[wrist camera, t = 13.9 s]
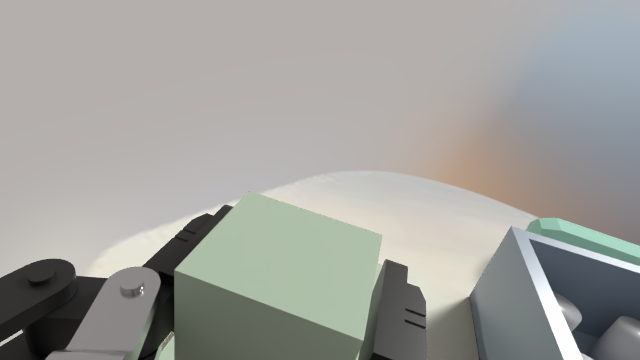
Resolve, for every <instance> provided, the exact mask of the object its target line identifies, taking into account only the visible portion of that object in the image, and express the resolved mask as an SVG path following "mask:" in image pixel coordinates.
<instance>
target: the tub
mask: <svg viewBox="0 0 640 360" xmlns="http://www.w3.org/2000/svg"><path fill="white" fill-rule="evenodd" d="M470 302H471V308H472V315H473V321H474V328H475V334H476V340H477V347H478V353H479V359H480V360H640V266H637V265H634V264H631V263H628V262H625V261H621V260H618V259H615V258H612V257H609V256H605V255H602V254H599V253H596V252H592V251H589V250H586V249H583V248H580V247H576V246H573V245H570V244H567V243H564V242H560V241H557V240H554V239H551V238H548V237H544V236H541V235H538V234H535V233H531V232H528V231H525V230H522V229H519V228H515V227H512V226H511V227H510V229H509V231H508V232H507V234H506V236H505V237H504V239H503V241H502V242H501V244H500V246H499V247H498V249H497V251H496V252H495V254H494V256H493V257H492V259H491V261H490V262H489V264H488V266H487V267H486V269H485V271H484V272H483V274H482V276H481V277H480V279H479V281H478V282H477V284H476V286H475V287H474V289H473V291H472V292H471V294H470Z"/></svg>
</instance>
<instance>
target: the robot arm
mask: <svg viewBox="0 0 640 360" xmlns="http://www.w3.org/2000/svg"><path fill="white" fill-rule="evenodd" d="M232 208H233V207H232V206H229V205H224V206H223V207H222V208H221V209H220V210H219V211H218V212H217V213H216V214H215V215H214V216H213V215H210V214H207V213H206V214H204V215H202V216H199V217H197V218H195V219H193V220H192V221H191V222H189V223H188V224H187V225H186V226H185V227H184V228H183V230H181V231H180V232H179V233H178V234H177V235H175V237H174V238H172V239H171V240H170V241H169V242H168V243H167V244H166V245H165V246H164V247H162V248H161V249H160V250H159V251H158V252H157V253H156V254H155V255H154V256H153V257H152V258H151V259H149V260H148V261H147V262H146V263H145V264H144V265H143V266H142V267H130V268H126V269H123V270H120V271H118V272H116V273H115V274H113V275H112V276H110V277H109V278H95V277H83V276H76V273H75V268H74V266H73V265H72V264H71V263H70V262H68V261H65V260H62V259H46V260H40V261H37V262H33V263H31V264H29V265H26V266H24V267H22V268H20V269H18V270H16V271H14V272H12V273H10V274H7V275H5V276H3V277H1V278H0V342H1V341H3V340H5V339H7V338H8V337H10V336H12V335H13V334H15V333H17V332H18V331H20V330H22V331H23V333H22V334H20V335H19V336H17V337H15V338H14V339H12V340H10V341H9V342H7V343H5V344H4V345H2V346H1V347H0V360H159V357H160V354H161V350H162V346H163V341H164V339H165V338H166V337H167V336H168V334H169V333H170V332H171V331H172V332H174V270H175V269H176V268H177V267H178V265H179V264H180V263H181V262H182V261H183V260H184V259H185V258H186V257H187V256H188V255H189V254H190V253H191V252H192V251H193V250H194V249H195V247H196V246H197V245H198V244H199V243H200V242H201V241H202V240H203V239H204V238H205V237H206V236H207V235H208V234H209V233H210V232H211V231H212V230H213V228H214V227H215V226H216V225H217V224H218V223H219V222H220V221H221V220H222V219H223V218H224V217H225V216H226V215H227V214H228V213H229V212H230V210H231V209H232ZM407 274H408V267H407V266H405V265H402V264H399V263H396V262H393V261H390V260H387V259H386V260H385V261H384V264H383V266H382V269H381V271H380V274H379V276H378V279H377V281H376V284H375V286H374V289H373V291H372V296H371V302H370V307H369V313H368V319H367V324H366V330H365V336H364V341H363V343H362V346H361V348H360V352H359V357H358V360H426V330H425V328H426V318H425V316H426V301H425V299H424V297H423V294H422V292H421V290H420V288H419V287H417V286H414V285H411V284H408V283H407Z"/></svg>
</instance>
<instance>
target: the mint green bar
mask: <svg viewBox="0 0 640 360" xmlns="http://www.w3.org/2000/svg"><path fill="white" fill-rule="evenodd" d="M526 231H528V232H531V233H535V234H538V235H541V236H544V237H548V238H551V239H554V240H557V241H560V242H564V243H567V244H570V245H573V246H576V247H580V248H583V249H586V250H589V251H592V252H596V253H599V254H602V255H605V256H609V257H612V258H615V259H618V260H621V261H625V262H628V263H631V264H634V265H637V266H640V246H638V245H635V244H632V243H629V242H626V241H623V240H620V239H618V238H614V237H611V236H609V235H606V234H603V233H600V232H597V231H594V230H591V229H588V228H585V227H582V226H579V225H576V224H574V223H571V222H568V221H565V220H562V219H558V218H539V219H537V220H535V221H533V222H531V223H530V224H529V226H528V228H527V229H526Z"/></svg>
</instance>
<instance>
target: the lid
mask: <svg viewBox="0 0 640 360" xmlns="http://www.w3.org/2000/svg"><path fill="white" fill-rule="evenodd" d="M381 240H382V235H381V234H378V233H375V232H372V231H369V230H366V229H363V228H360V227H357V226H353V225H350V224H347V223H344V222H341V221H338V220H335V219H332V218H329V217H326V216H323V215H320V214H317V213H314V212H311V211H308V210H305V209H302V208H299V207H296V206H293V205H290V204H287V203H284V202H281V201H278V200H275V199H272V198H269V197H266V196H263V195H260V194H257V193H253V192H251V191H248V193H247V194H246V195H245V196H244V197H243V198H242V199H241V200H240V201H239V202H238V203H237V204H236V205H235V206H234V207H233V208H232V209H231V210H230V212H229V213H228V214H227V215H226V216H225V217H224V218H223V219H222V220H221V221H220V222H219V223H218V224H217V225H216V226H215V227H214V228H213V230H212V231H211V232H210V233H209V234H208V235H207V236H206V237H205V238H204V239H203V240H202V241H201V242H200V243H199V244H198V245H197V246H196V247H195V249H194V250H193V251H192V252H191V253H190V254H189V255H188V256H187V257H186V258H185V259H184V260H183V261H182V262H181V263H180V264H179V265H178V267H177V268H176V269H175V270H174V336H173V337H172V338H171V340H170V341H169V342H168V344H167V345H166V346H165V347H164V349H163V350H162V351H161V354H160V357H159V360H358V357H359V352H360V348H361V346H362V343H363V341H364V336H365V330H366V324H367V319H368V313H369V307H370V302H371V296H372V291H373V289H374V286H375V284H376V281H377V279H378V276H379V274H380V271H381V269H382V266H383V265H381V264H378V263H377V262H378V257H379V251H380V246H381Z"/></svg>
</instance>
